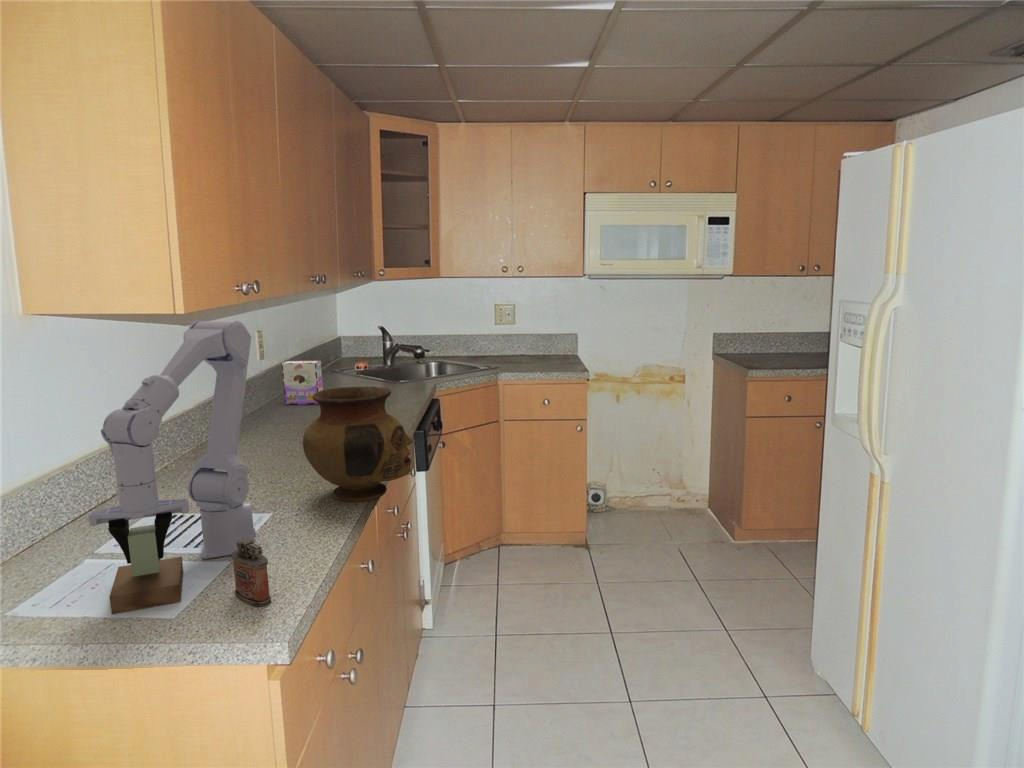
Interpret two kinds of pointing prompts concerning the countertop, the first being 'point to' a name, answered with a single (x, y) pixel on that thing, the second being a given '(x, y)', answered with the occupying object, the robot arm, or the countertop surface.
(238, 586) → the lighter
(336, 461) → the pot
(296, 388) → the candy box
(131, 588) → the plinth
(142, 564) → the block
